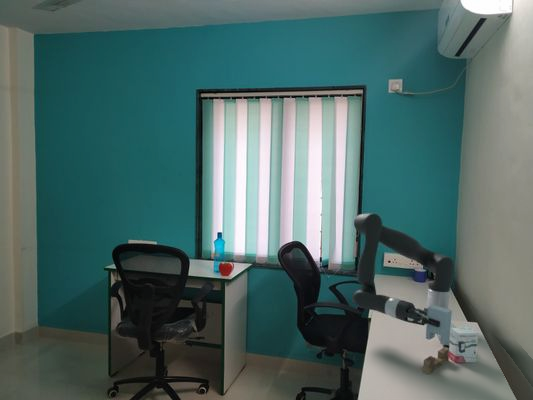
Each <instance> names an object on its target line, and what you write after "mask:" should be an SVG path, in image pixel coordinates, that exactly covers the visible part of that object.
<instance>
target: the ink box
mask: <svg viewBox="0 0 533 400" xmlns="http://www.w3.org/2000/svg"><path fill="white" fill-rule="evenodd" d="M478 337H479V332H477V331H476V330H475V329H473V328H472V327H469V326H465V327H456V328H451V329H450V345H449V346H448V347H449V348H448V349H449V359H450V360H452V361H453V362H454V363H476V362H477V349H478Z"/></svg>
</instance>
